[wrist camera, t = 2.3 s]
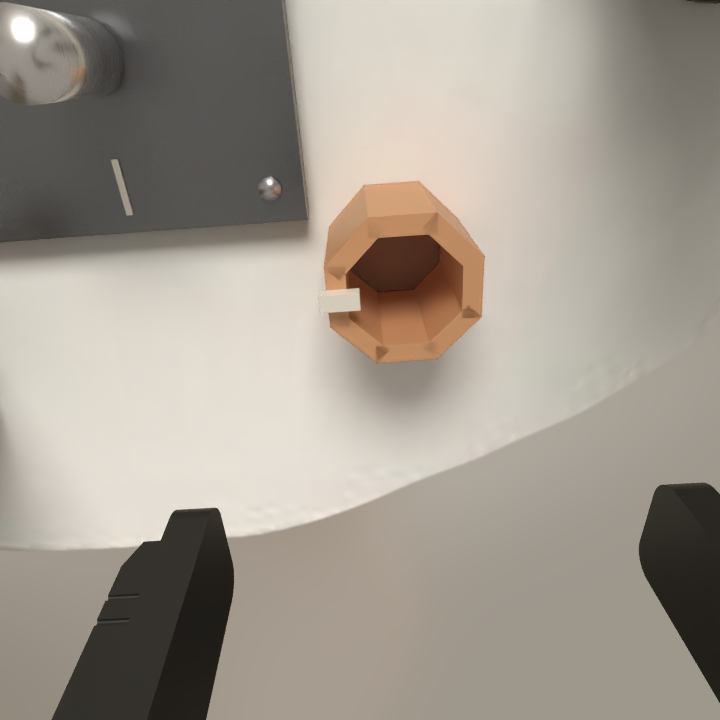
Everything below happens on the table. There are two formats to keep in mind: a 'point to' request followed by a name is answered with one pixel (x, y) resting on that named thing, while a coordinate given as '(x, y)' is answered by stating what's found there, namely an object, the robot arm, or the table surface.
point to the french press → (705, 1)
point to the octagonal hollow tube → (405, 307)
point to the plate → (146, 117)
